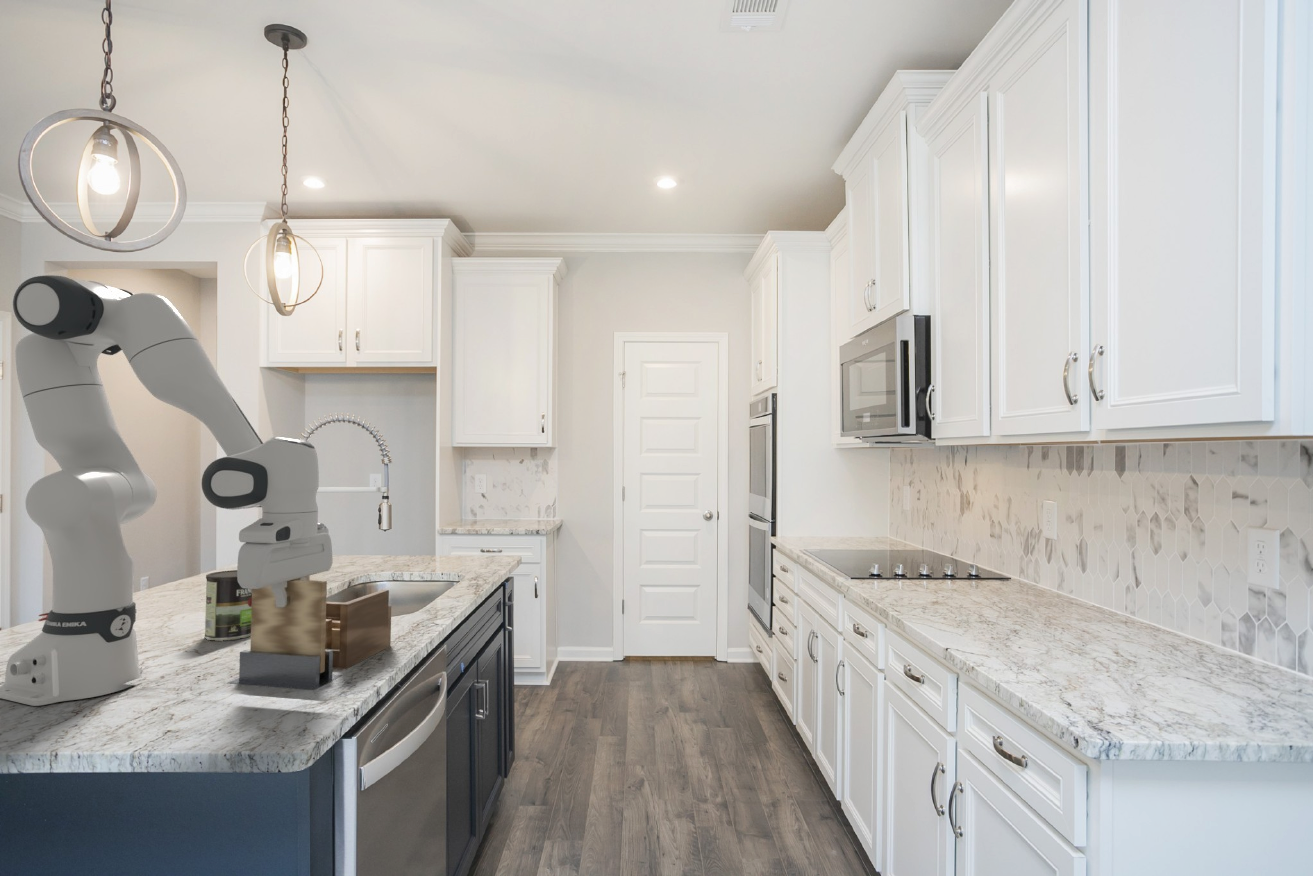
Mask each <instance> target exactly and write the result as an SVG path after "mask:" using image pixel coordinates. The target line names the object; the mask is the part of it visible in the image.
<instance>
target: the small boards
mask: <svg viewBox="0 0 1313 876" xmlns="http://www.w3.org/2000/svg"><path fill="white" fill-rule="evenodd" d="M325 648H326V649H339V648H340V621H334V620H332V619H326V635H325Z"/></svg>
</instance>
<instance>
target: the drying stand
mask: <svg viewBox="0 0 1313 876" xmlns="http://www.w3.org/2000/svg"><path fill="white" fill-rule="evenodd" d="M332 668H333V650H328V649H325V671H324V672H322V673H319V672H320V656H318V655H304V654H290V653H275V652H261V651H250V650H246V649H245V650H241V651H239V671H238V675H239V676H238V678H236V679H233V680H230V681H228V682H227V684H228V685H229V684H230V685H231V684H232V685H240V686H241V685H242V686H243V685H244V686H255V687H256V686H257V687H266V688H267V687H269V688H279V689H280V688H282V689H295V690H307V691H315V690H318V689H319V688H321V687H324V686H325V685H327V684H329V683H331V682H333V681H335V680H336V679H338V678H341V677H342V676H344V674H336V673H335V674H333V669H332Z"/></svg>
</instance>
